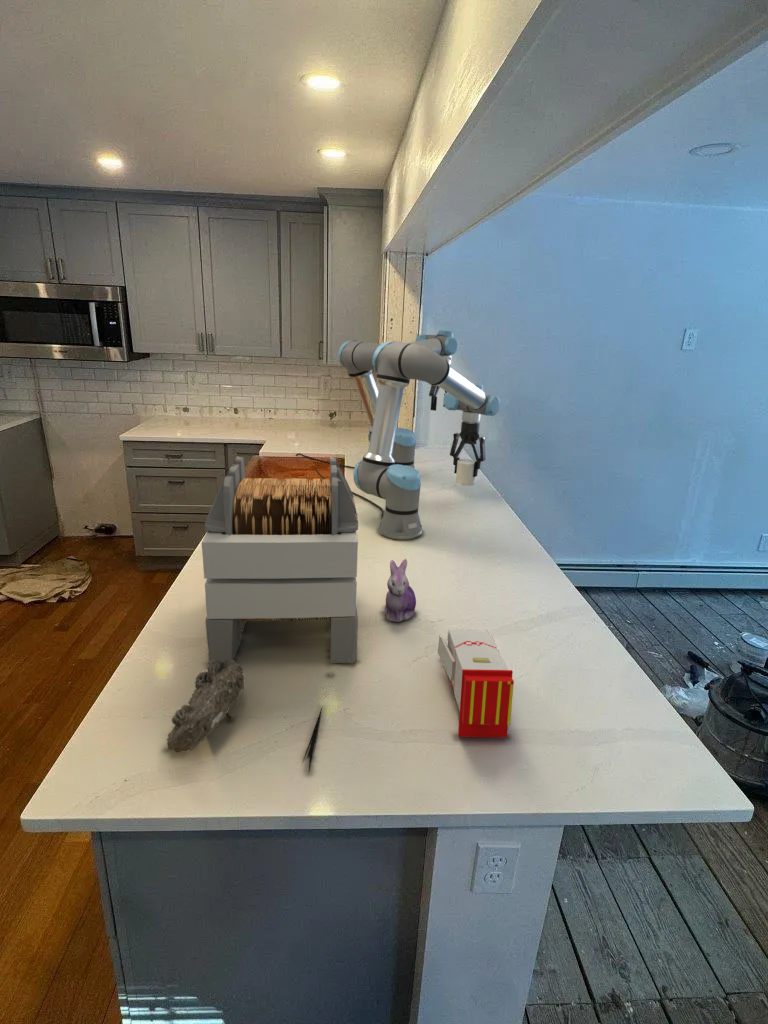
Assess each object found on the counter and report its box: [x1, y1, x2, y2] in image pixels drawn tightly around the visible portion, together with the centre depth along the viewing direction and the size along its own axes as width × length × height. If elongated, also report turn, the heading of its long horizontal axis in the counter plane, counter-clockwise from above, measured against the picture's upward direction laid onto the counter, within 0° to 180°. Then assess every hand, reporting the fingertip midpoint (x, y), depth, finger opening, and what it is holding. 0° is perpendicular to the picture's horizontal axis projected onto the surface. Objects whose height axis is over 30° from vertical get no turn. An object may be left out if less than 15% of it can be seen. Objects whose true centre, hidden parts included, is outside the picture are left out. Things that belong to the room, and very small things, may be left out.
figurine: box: [384, 558, 417, 623], centre depth 145 cm, size 9×10×15 cm
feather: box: [301, 673, 332, 771], centre depth 108 cm, size 2×28×2 cm
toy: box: [437, 628, 515, 738], centre depth 117 cm, size 12×13×30 cm
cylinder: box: [455, 458, 476, 487], centre depth 242 cm, size 8×8×10 cm
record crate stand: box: [201, 455, 359, 666], centre depth 133 cm, size 34×33×41 cm
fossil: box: [166, 659, 245, 754], centre depth 106 cm, size 22×10×15 cm
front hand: (465, 474), depth 243 cm, fingers closed on cylinder, 8 cm apart
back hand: (439, 408), depth 279 cm, fingers open, 13 cm apart
